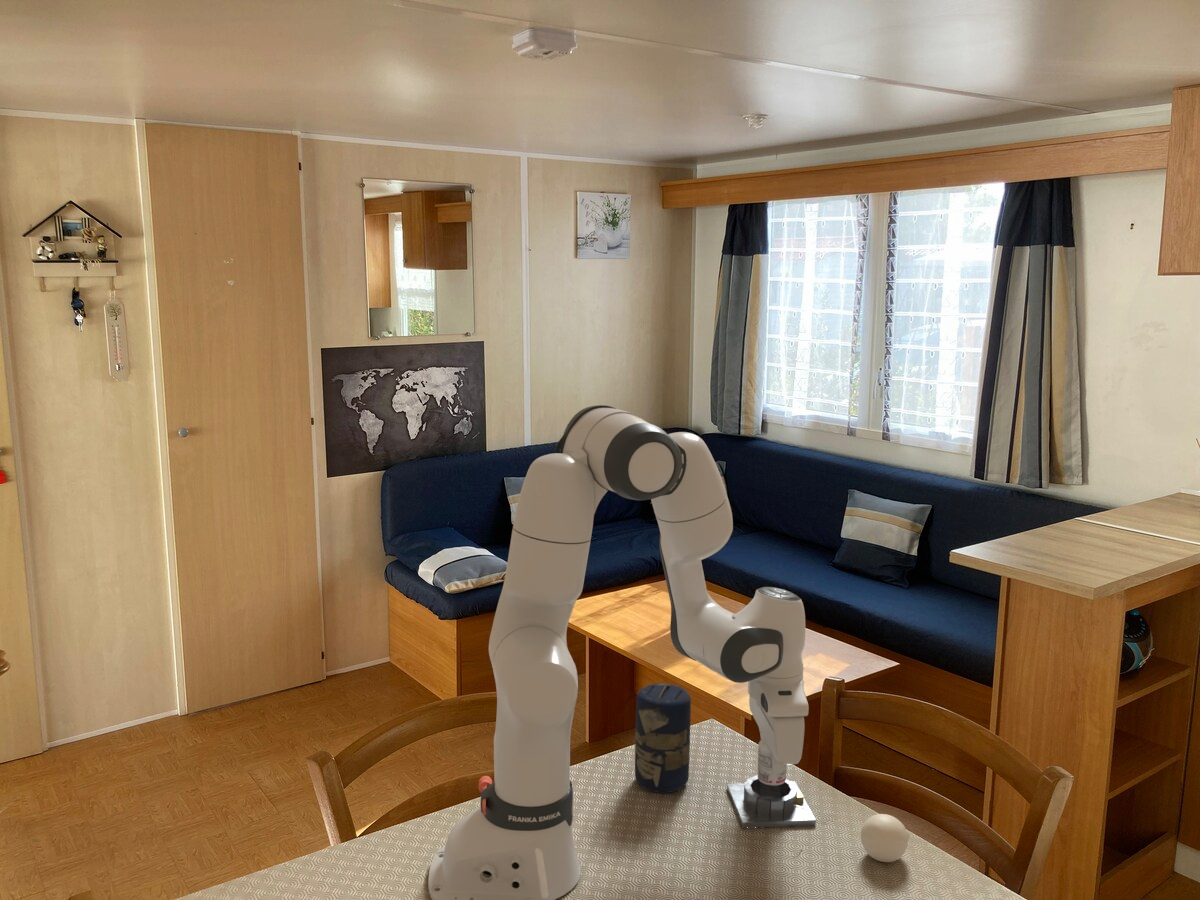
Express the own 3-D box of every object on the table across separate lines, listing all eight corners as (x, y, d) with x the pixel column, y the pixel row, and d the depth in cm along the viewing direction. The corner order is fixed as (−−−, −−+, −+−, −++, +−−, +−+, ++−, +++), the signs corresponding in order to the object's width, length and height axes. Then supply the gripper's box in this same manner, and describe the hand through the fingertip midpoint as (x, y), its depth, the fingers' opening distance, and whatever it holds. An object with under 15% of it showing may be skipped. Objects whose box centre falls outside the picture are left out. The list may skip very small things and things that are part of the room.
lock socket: (742, 828, 156) (743, 809, 155) (727, 789, 167) (727, 770, 167) (815, 825, 157) (816, 805, 156) (794, 786, 168) (795, 767, 168)
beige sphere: (917, 860, 148) (920, 821, 146) (884, 876, 144) (887, 835, 143) (883, 838, 153) (886, 800, 152) (850, 853, 150) (853, 813, 148)
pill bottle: (782, 771, 163) (784, 725, 162) (788, 786, 159) (791, 738, 157) (754, 771, 163) (756, 725, 162) (760, 786, 159) (762, 739, 157)
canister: (624, 785, 168) (625, 689, 165) (652, 763, 176) (654, 670, 172) (671, 803, 163) (673, 704, 159) (698, 779, 171) (701, 684, 167)
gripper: (741, 658, 168) (739, 732, 170) (772, 712, 148) (768, 795, 150) (777, 657, 168) (774, 731, 171) (812, 711, 148) (808, 793, 151)
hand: (771, 761), depth 160 cm, fingers closed on pill bottle, 5 cm apart
